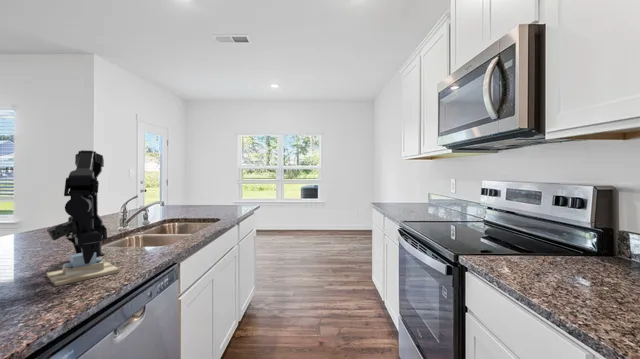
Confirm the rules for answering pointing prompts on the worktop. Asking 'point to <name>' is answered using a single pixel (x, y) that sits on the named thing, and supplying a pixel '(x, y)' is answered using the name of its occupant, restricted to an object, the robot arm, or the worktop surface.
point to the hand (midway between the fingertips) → (83, 261)
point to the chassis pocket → (81, 273)
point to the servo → (80, 260)
